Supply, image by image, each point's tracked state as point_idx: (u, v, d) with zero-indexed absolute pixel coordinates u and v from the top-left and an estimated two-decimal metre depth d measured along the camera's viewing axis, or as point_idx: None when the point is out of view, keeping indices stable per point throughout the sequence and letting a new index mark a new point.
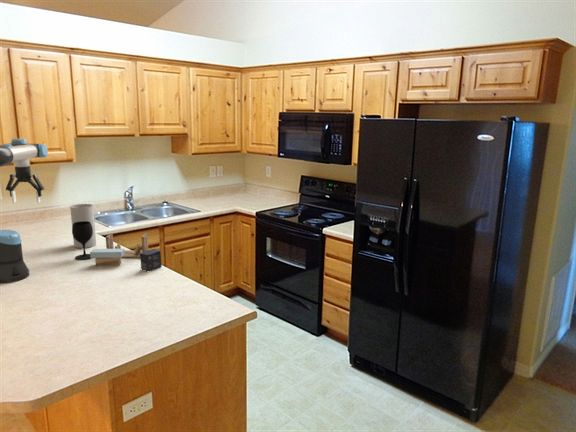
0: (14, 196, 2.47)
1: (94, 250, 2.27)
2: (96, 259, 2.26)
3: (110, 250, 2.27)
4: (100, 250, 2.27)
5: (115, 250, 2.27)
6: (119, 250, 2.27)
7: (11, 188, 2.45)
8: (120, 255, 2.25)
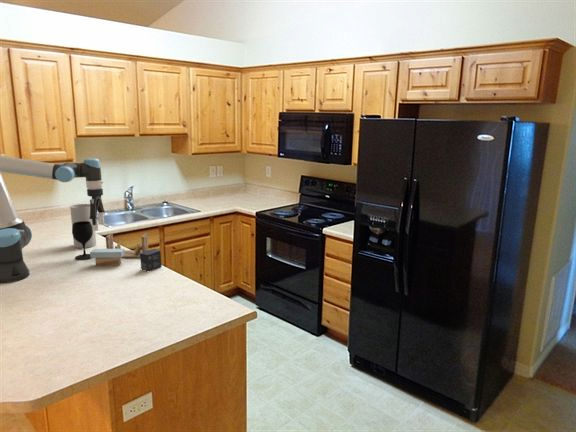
0: (100, 218, 2.32)
1: (94, 250, 2.27)
2: (96, 259, 2.26)
3: (110, 250, 2.27)
4: (100, 250, 2.27)
5: (115, 250, 2.27)
6: (119, 250, 2.27)
7: (97, 209, 2.31)
8: (120, 255, 2.25)
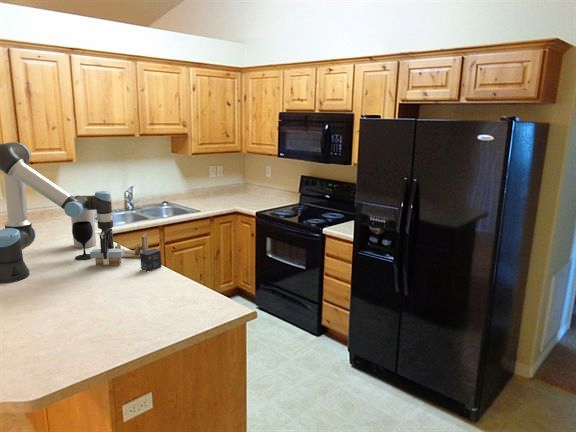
0: None
1: (94, 250, 2.27)
2: (96, 259, 2.26)
3: (110, 250, 2.27)
4: (100, 250, 2.27)
5: (115, 250, 2.27)
6: (119, 250, 2.27)
7: None
8: (120, 255, 2.25)
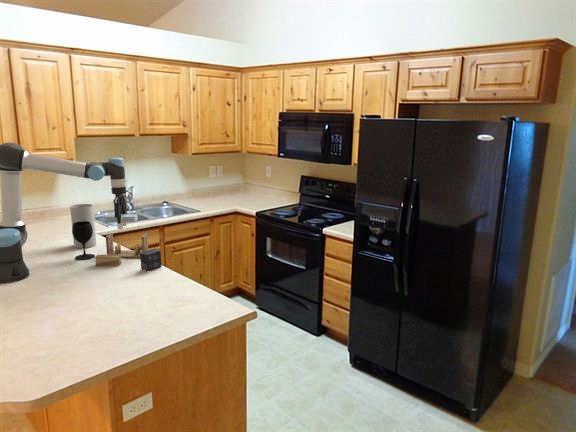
0: None
1: (108, 215, 2.35)
2: (96, 259, 2.26)
3: (124, 215, 2.35)
4: (114, 215, 2.36)
5: (128, 215, 2.35)
6: (132, 215, 2.35)
7: (120, 210, 2.38)
8: (133, 220, 2.33)
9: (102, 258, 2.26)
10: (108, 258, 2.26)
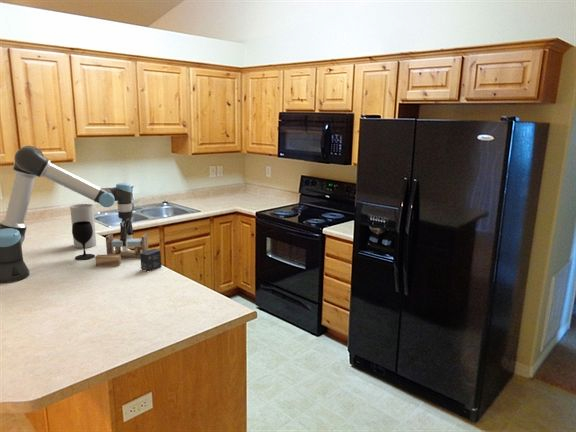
0: None
1: (114, 240, 2.43)
2: (96, 259, 2.26)
3: (130, 240, 2.43)
4: None
5: (134, 240, 2.43)
6: (138, 240, 2.43)
7: (127, 231, 2.47)
8: (139, 244, 2.41)
9: (102, 258, 2.26)
10: (108, 258, 2.26)
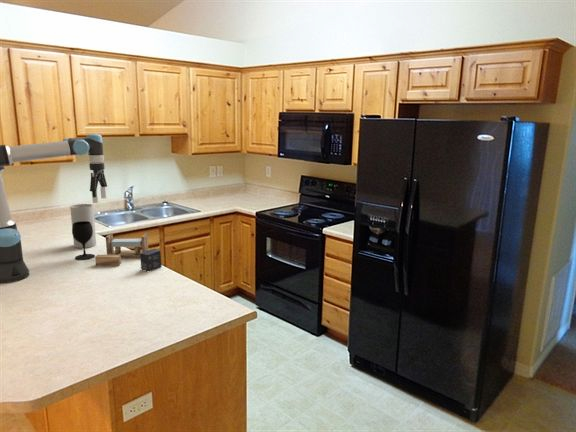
0: (103, 192, 2.44)
1: (114, 240, 2.43)
2: (96, 259, 2.26)
3: (130, 240, 2.43)
4: (120, 239, 2.43)
5: (134, 240, 2.43)
6: (138, 240, 2.43)
7: None
8: (139, 244, 2.41)
9: (102, 258, 2.26)
10: (108, 258, 2.26)
